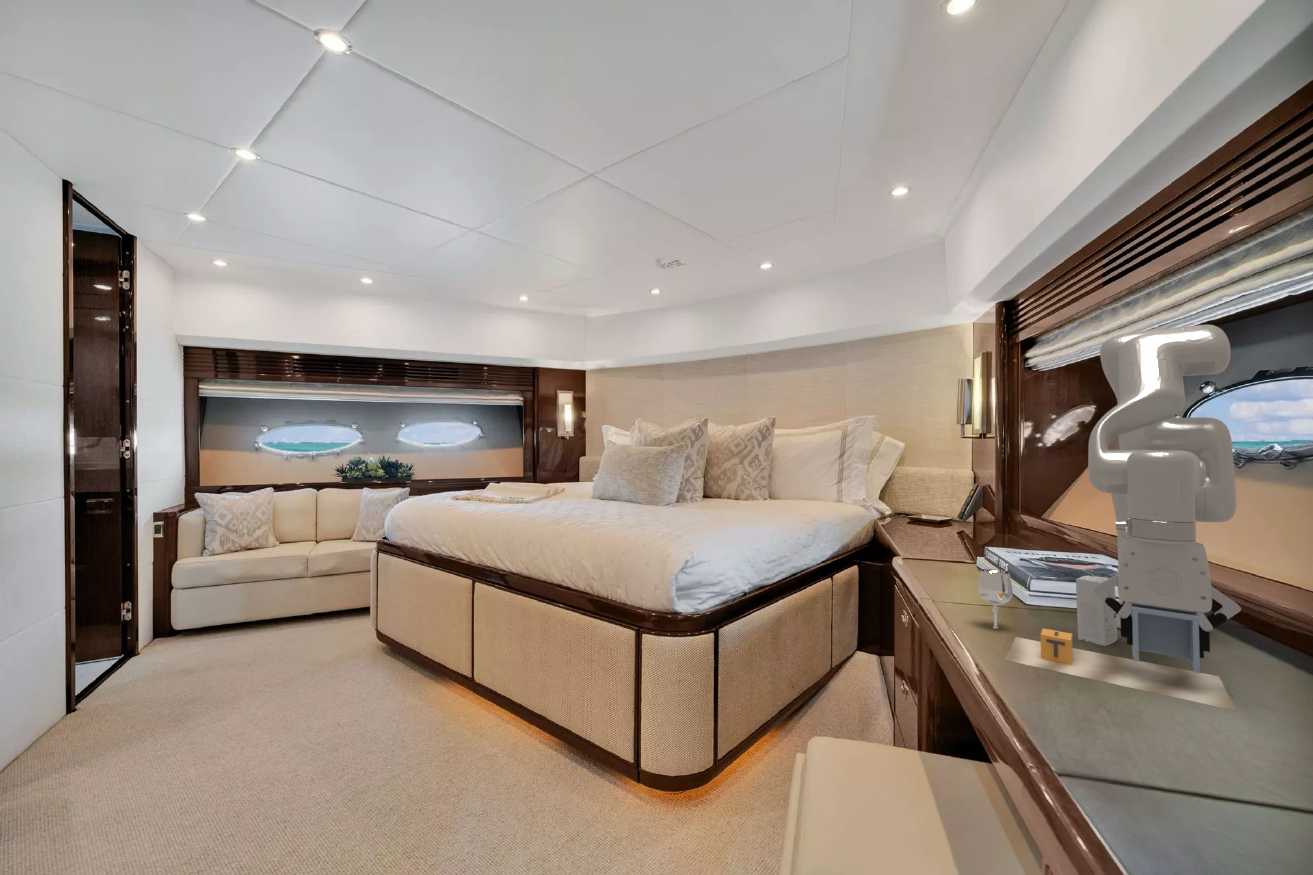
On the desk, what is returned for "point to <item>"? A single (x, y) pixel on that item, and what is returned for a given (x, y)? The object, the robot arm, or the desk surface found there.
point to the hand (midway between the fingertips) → (1163, 648)
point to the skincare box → (1094, 613)
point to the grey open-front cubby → (1166, 633)
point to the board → (1128, 674)
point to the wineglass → (995, 588)
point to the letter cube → (1056, 646)
